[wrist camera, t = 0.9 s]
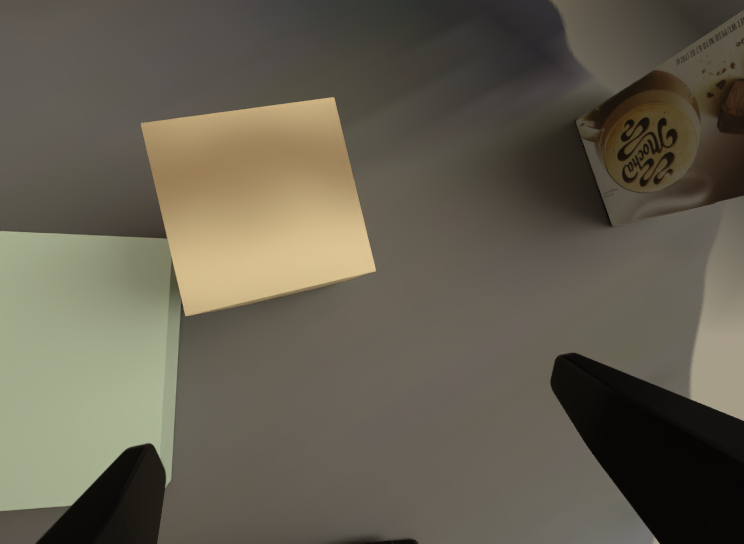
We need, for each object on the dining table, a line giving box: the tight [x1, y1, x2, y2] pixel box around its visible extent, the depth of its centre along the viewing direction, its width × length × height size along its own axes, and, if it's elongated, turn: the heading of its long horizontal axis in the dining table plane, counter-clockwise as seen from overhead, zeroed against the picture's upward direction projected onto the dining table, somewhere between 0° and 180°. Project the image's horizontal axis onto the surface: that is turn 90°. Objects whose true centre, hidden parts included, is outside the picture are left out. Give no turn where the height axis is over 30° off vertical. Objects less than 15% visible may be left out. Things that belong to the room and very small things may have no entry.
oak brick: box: [141, 97, 376, 316], centre depth 17 cm, size 6×6×12 cm
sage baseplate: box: [0, 231, 181, 511], centre depth 19 cm, size 14×14×2 cm
